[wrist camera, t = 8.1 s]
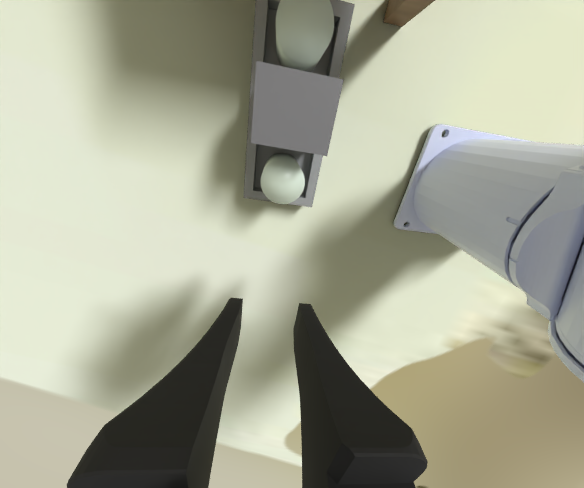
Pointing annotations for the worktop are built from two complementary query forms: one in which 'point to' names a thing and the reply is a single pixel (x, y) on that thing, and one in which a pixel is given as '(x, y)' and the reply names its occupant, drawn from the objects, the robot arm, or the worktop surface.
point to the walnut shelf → (404, 10)
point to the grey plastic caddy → (293, 95)
